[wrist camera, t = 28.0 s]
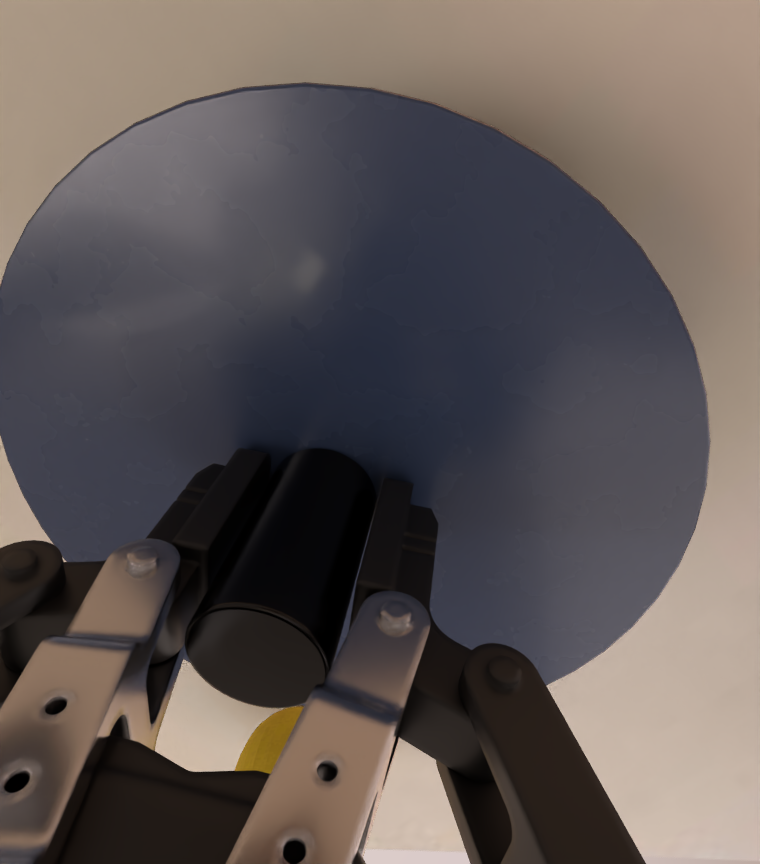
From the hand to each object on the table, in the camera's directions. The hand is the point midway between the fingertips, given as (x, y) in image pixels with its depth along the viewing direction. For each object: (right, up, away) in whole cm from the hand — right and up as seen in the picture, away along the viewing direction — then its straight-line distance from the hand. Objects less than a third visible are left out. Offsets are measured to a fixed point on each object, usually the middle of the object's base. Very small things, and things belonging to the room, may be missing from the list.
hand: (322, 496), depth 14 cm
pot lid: (0, 0, +1) cm, 1 cm away
